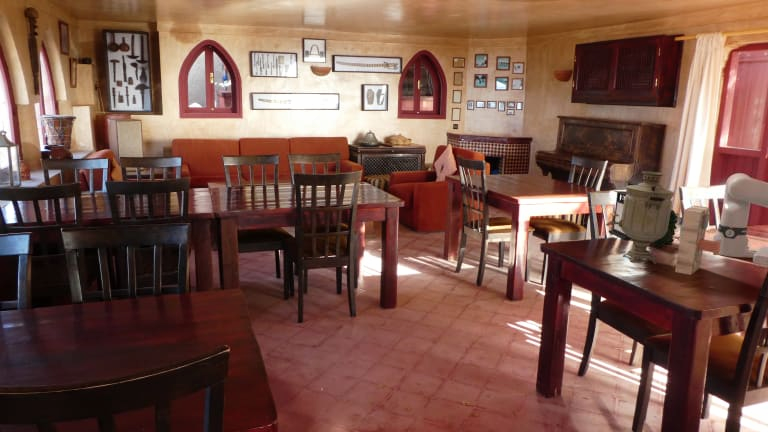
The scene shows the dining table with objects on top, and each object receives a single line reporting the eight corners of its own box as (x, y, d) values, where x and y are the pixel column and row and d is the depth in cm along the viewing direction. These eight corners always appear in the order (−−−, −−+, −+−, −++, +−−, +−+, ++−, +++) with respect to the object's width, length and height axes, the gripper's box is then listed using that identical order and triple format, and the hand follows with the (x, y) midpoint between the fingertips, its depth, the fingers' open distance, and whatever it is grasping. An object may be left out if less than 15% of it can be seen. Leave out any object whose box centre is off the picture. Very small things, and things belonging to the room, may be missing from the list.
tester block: (684, 264, 252) (694, 205, 246) (699, 267, 248) (709, 207, 242) (675, 271, 240) (684, 209, 234) (690, 275, 236) (700, 211, 230)
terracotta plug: (695, 248, 243) (697, 236, 242) (719, 252, 237) (721, 240, 236) (691, 250, 239) (693, 238, 238) (716, 255, 233) (718, 242, 232)
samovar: (605, 247, 277) (615, 166, 269) (664, 255, 266) (676, 171, 258) (599, 261, 251) (610, 172, 243) (664, 271, 240) (678, 178, 232)
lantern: (638, 233, 313) (646, 170, 306) (655, 240, 297) (664, 174, 289) (608, 232, 312) (616, 169, 305) (623, 239, 295) (632, 173, 288)
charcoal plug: (683, 223, 245) (685, 211, 244) (707, 227, 239) (709, 214, 238) (680, 225, 241) (682, 212, 240) (704, 229, 235) (706, 216, 234)
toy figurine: (659, 243, 298) (642, 246, 280) (665, 208, 295) (649, 209, 277) (678, 247, 291) (662, 250, 273) (685, 211, 289) (669, 212, 271)
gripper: (779, 272, 213) (737, 264, 222) (786, 262, 228) (746, 255, 237) (782, 256, 212) (740, 248, 221) (789, 247, 227) (749, 240, 236)
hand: (743, 252), depth 229 cm, fingers closed
